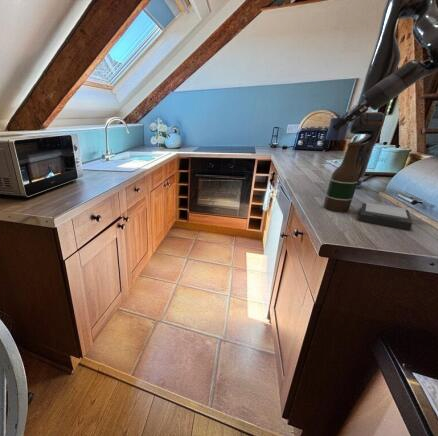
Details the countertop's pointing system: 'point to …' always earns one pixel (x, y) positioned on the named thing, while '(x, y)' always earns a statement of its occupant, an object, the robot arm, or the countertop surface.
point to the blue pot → (339, 133)
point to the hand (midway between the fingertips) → (333, 127)
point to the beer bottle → (343, 181)
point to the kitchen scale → (385, 215)
